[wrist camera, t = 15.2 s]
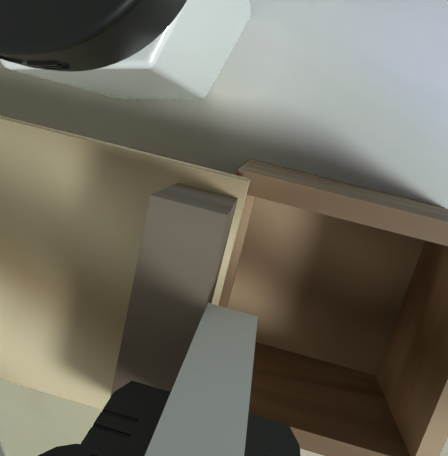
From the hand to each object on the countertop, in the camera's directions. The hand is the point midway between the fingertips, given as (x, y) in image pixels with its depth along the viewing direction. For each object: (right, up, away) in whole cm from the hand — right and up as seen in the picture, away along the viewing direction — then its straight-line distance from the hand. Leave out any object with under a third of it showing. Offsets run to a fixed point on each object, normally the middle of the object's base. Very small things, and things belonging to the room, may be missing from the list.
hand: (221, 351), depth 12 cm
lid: (-5, +2, +3) cm, 6 cm away
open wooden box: (+5, +1, +10) cm, 11 cm away
